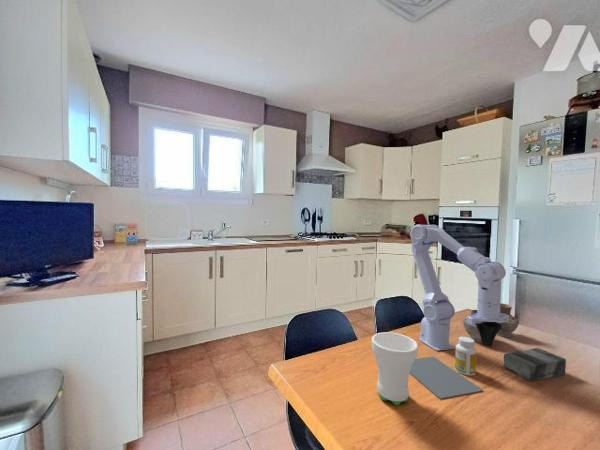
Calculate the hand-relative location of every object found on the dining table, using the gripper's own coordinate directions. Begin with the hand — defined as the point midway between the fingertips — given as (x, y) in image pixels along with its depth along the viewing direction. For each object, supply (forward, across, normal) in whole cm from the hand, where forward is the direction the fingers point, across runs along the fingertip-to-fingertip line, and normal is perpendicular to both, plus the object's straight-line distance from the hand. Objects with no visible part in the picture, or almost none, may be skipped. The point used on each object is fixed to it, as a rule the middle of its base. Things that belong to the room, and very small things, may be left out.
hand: (486, 345), depth 84 cm
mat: (+7, -18, 0) cm, 20 cm away
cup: (+7, -36, -5) cm, 38 cm away
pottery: (+7, +22, +17) cm, 29 cm away
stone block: (+8, +13, -4) cm, 15 cm away
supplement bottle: (+7, -8, 0) cm, 11 cm away
